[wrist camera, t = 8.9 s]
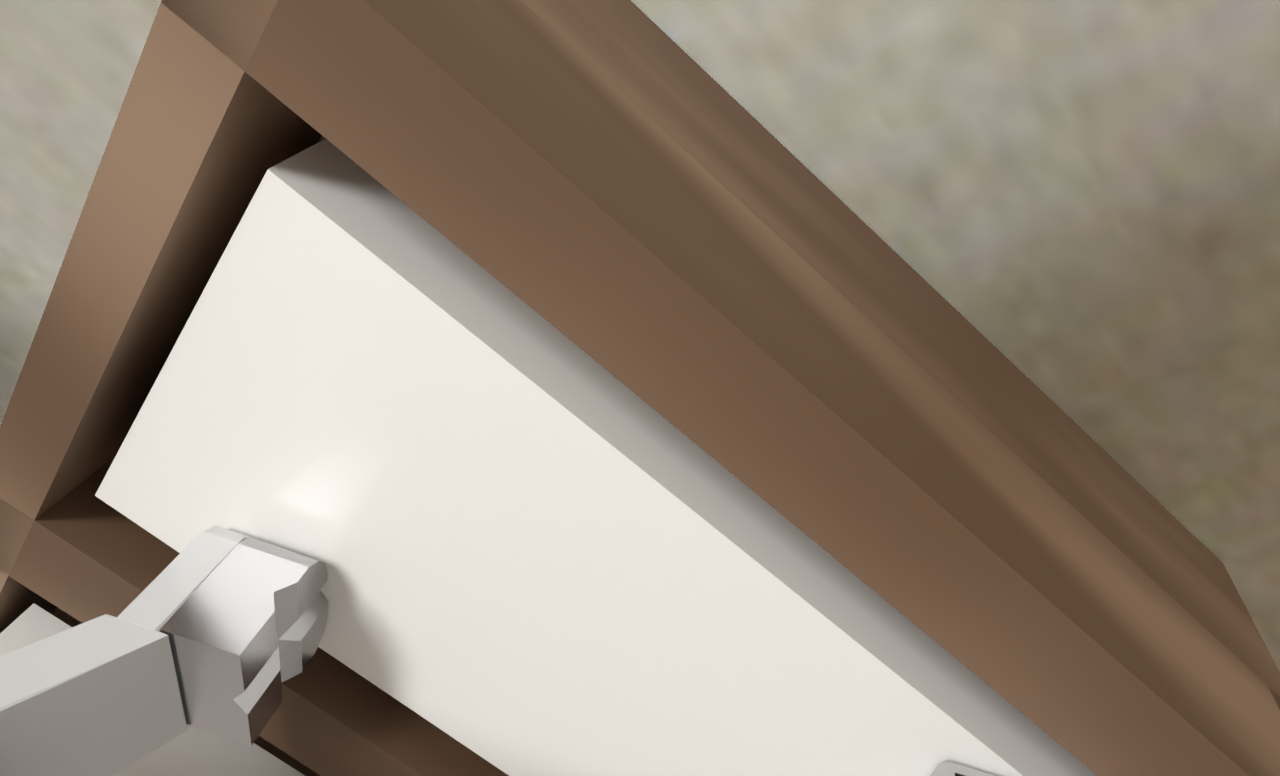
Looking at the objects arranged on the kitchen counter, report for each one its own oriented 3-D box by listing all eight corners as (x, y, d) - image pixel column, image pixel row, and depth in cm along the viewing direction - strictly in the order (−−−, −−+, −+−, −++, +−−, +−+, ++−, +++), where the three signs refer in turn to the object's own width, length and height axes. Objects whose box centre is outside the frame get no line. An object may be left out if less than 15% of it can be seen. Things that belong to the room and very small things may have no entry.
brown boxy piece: (421, 945, 29) (340, 1148, 24) (11, 696, 26) (-170, 876, 21) (1233, 574, 14) (1418, 923, 9) (487, -136, 11) (211, -132, 6)
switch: (806, 851, 15) (799, 971, 14) (194, 412, 13) (94, 496, 11) (1107, 735, 12) (1146, 874, 10) (370, 114, 9) (266, 168, 8)
